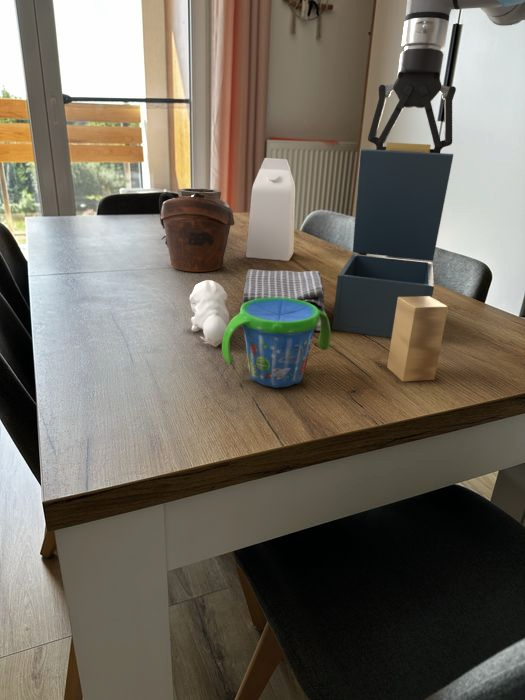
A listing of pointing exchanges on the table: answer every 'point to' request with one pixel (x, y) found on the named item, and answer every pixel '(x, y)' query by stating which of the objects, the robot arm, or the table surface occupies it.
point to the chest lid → (400, 200)
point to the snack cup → (277, 338)
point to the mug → (189, 193)
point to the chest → (377, 292)
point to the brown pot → (196, 231)
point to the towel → (285, 287)
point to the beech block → (416, 338)
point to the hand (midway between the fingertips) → (403, 183)
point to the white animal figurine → (209, 311)
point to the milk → (272, 212)
